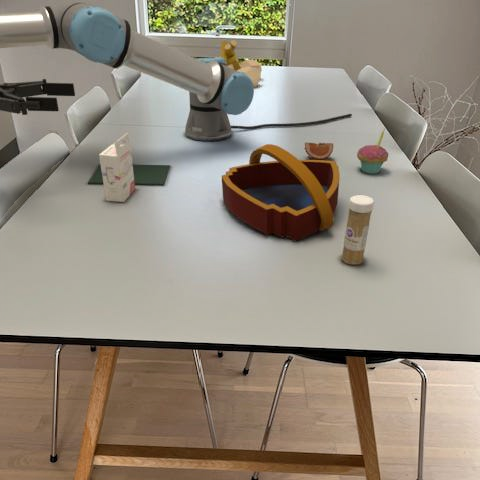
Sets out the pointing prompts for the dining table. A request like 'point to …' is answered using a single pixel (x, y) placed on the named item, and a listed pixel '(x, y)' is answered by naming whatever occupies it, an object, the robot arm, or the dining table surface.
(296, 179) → the decorative basket
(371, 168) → the cupcake
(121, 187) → the ink cartridge box
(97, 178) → the mat
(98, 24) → the robot arm
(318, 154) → the fruit slice
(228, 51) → the campfire
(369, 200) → the sprinkles bottle
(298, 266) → the dining table surface
